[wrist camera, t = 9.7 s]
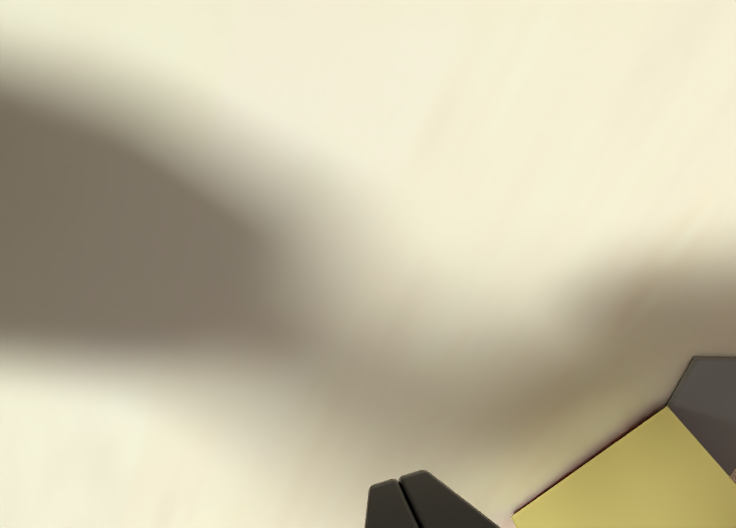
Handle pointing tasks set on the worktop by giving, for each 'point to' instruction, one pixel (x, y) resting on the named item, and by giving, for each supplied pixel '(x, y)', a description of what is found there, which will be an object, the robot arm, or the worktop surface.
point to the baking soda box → (641, 485)
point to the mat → (709, 406)
